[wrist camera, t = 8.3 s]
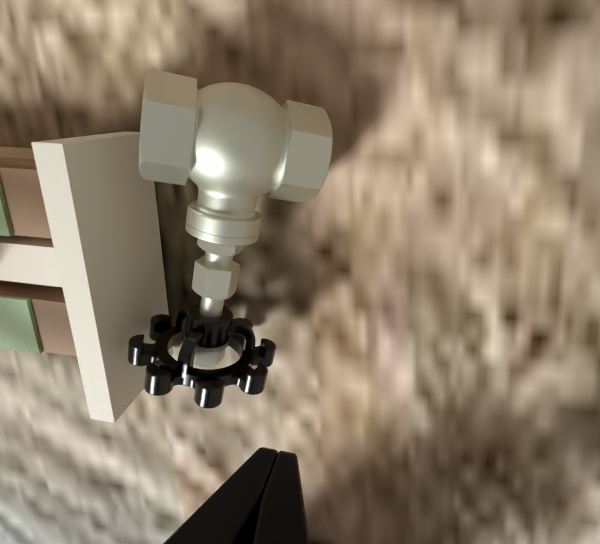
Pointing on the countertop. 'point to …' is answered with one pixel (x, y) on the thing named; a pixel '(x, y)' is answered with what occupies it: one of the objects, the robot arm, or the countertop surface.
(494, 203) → the countertop surface
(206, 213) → the valve
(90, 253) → the white t-shaped slider
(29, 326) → the gauge housing
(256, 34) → the countertop surface
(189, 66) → the countertop surface
